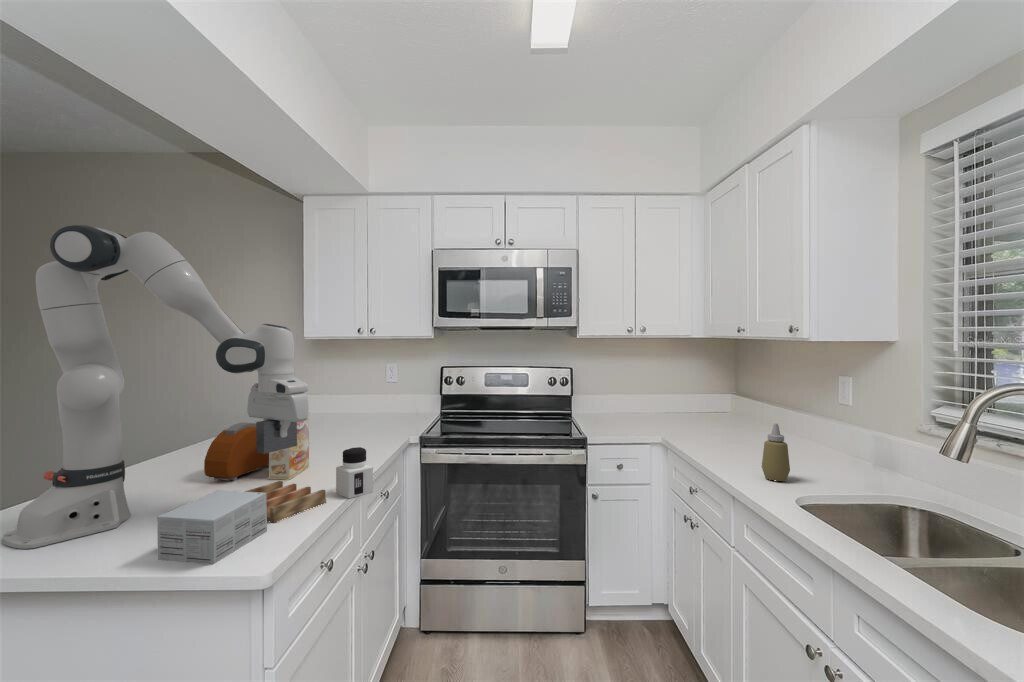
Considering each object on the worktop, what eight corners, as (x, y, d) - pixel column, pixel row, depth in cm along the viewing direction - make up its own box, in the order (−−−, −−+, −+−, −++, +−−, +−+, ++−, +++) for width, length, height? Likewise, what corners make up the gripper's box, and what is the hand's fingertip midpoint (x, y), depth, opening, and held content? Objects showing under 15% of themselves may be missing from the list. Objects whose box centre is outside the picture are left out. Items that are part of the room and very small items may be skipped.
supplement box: (217, 528, 116) (217, 489, 116) (267, 531, 114) (267, 492, 114) (155, 561, 99) (155, 515, 99) (213, 565, 97) (213, 519, 97)
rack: (274, 522, 119) (274, 508, 119) (225, 509, 127) (225, 496, 127) (326, 502, 133) (326, 490, 133) (279, 492, 142) (279, 480, 142)
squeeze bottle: (790, 478, 157) (791, 423, 157) (789, 485, 150) (789, 427, 150) (762, 474, 161) (763, 420, 161) (760, 480, 154) (760, 424, 154)
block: (264, 453, 125) (263, 422, 125) (256, 452, 126) (256, 421, 126) (297, 445, 134) (296, 417, 134) (289, 444, 135) (289, 416, 135)
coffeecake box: (290, 480, 154) (289, 418, 154) (267, 479, 154) (267, 418, 154) (310, 467, 169) (310, 411, 169) (289, 467, 169) (289, 411, 169)
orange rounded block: (256, 463, 174) (256, 417, 174) (278, 464, 172) (278, 417, 172) (202, 482, 151) (202, 429, 151) (227, 484, 149) (227, 430, 149)
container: (373, 492, 142) (373, 448, 142) (348, 499, 136) (348, 453, 136) (359, 487, 147) (359, 444, 147) (335, 493, 141) (335, 448, 141)
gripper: (240, 383, 132) (241, 434, 132) (292, 387, 122) (292, 442, 123) (262, 381, 137) (262, 430, 137) (312, 385, 128) (312, 437, 128)
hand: (276, 436), depth 130 cm, fingers closed on block, 3 cm apart
